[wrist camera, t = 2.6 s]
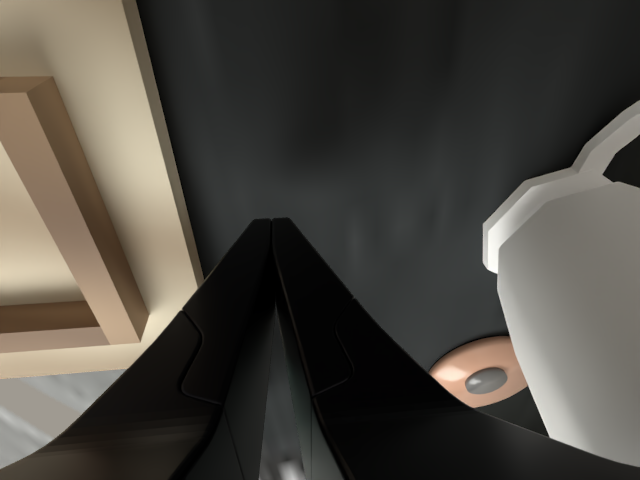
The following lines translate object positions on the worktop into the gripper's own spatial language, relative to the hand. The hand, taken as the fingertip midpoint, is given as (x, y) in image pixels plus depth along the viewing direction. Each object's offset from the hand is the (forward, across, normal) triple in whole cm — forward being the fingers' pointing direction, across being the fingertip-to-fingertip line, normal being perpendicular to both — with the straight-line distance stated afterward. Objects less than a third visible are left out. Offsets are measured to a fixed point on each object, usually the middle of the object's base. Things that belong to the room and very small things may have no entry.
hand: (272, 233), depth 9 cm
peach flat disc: (+2, -9, +10) cm, 13 cm away
